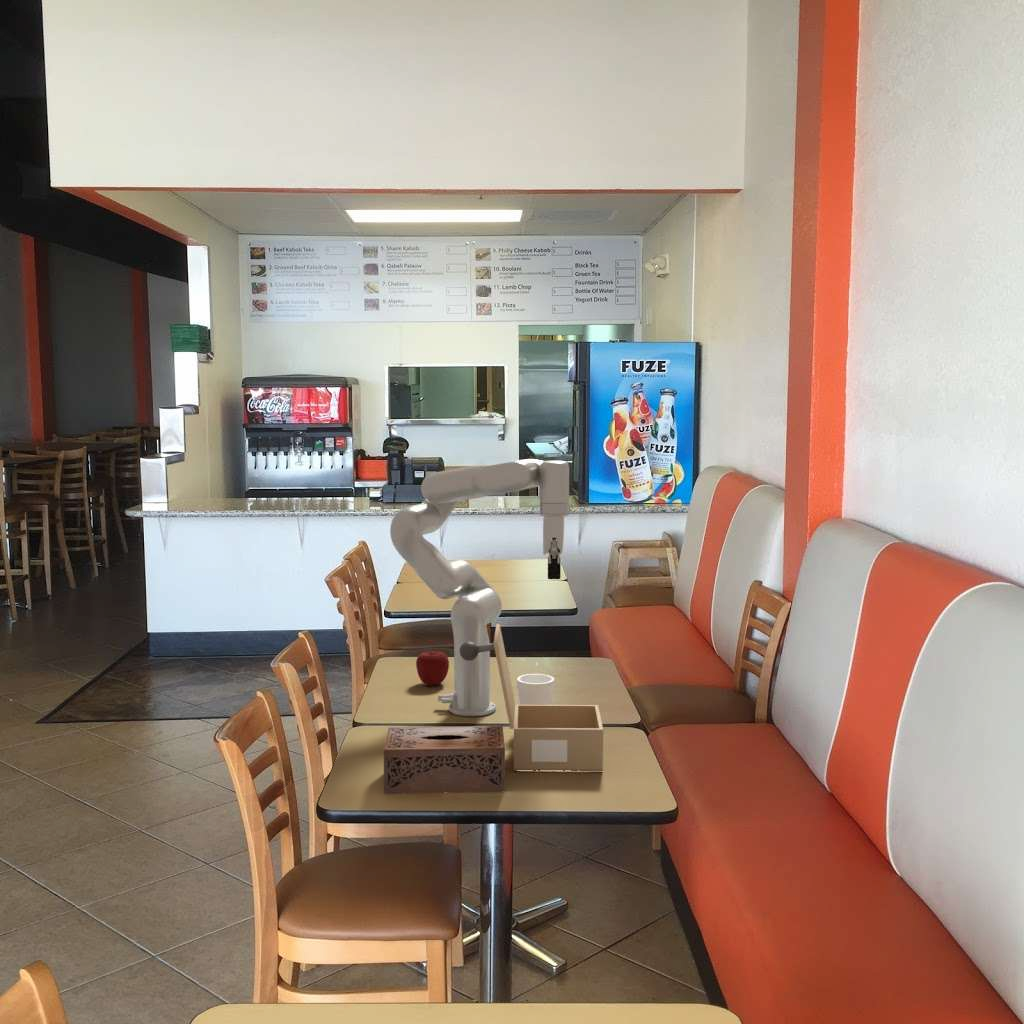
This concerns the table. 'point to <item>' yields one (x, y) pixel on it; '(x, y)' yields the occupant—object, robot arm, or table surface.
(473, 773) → the tissue box cover
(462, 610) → the robot arm
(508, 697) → the carton lid
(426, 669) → the apple
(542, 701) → the foam cup
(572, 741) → the carton
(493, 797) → the table surface
